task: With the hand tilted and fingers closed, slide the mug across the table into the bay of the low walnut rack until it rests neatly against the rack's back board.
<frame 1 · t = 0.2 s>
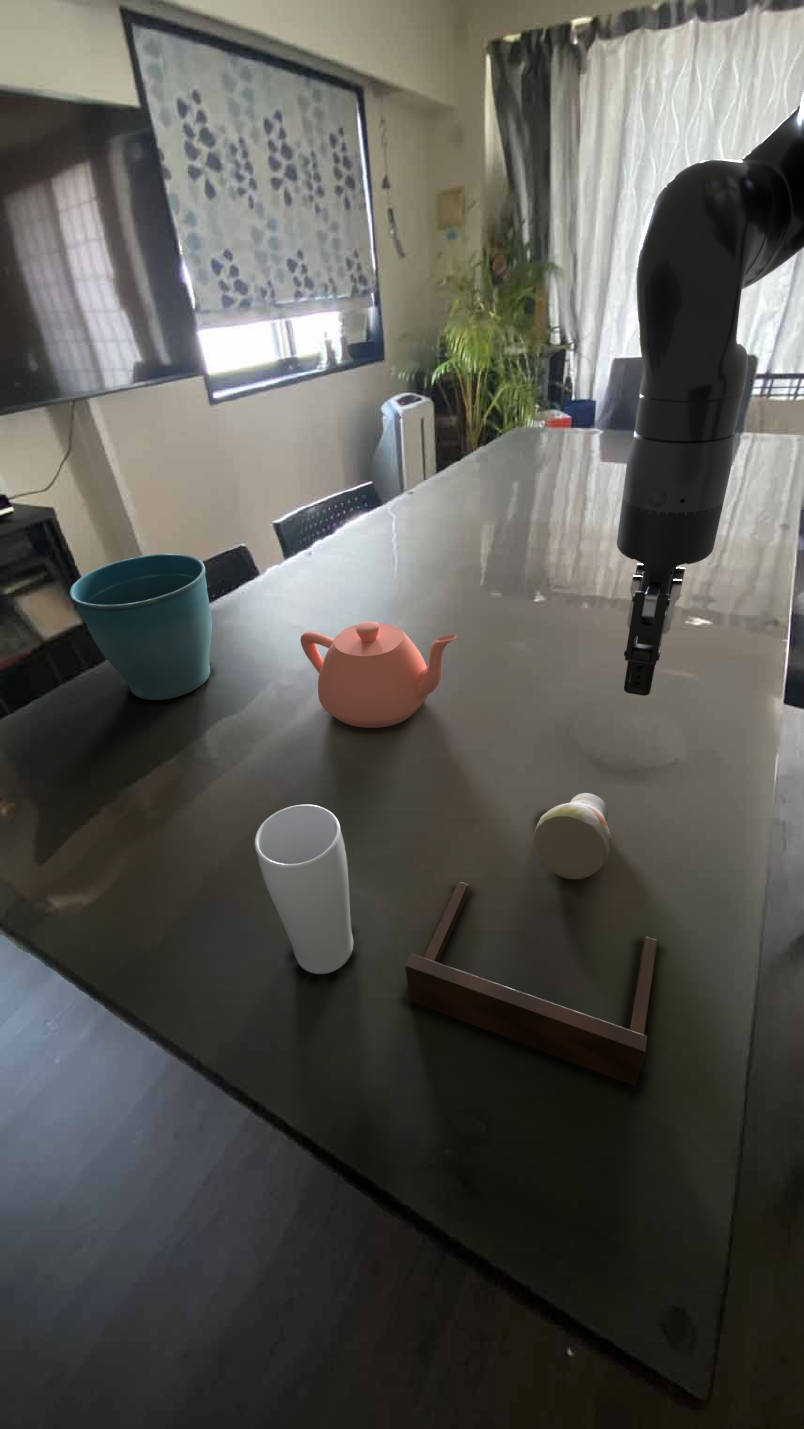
hand: (642, 668, 60), 17 cm above the table, tool pointing down, fingers open, 8 cm apart
drinking glass: (325, 951, 58), on the table
mug: (572, 847, 66), on the table
flower pot: (173, 681, 99), on the table
walnut rack: (536, 969, 55), on the table
teapot: (381, 706, 89), on the table
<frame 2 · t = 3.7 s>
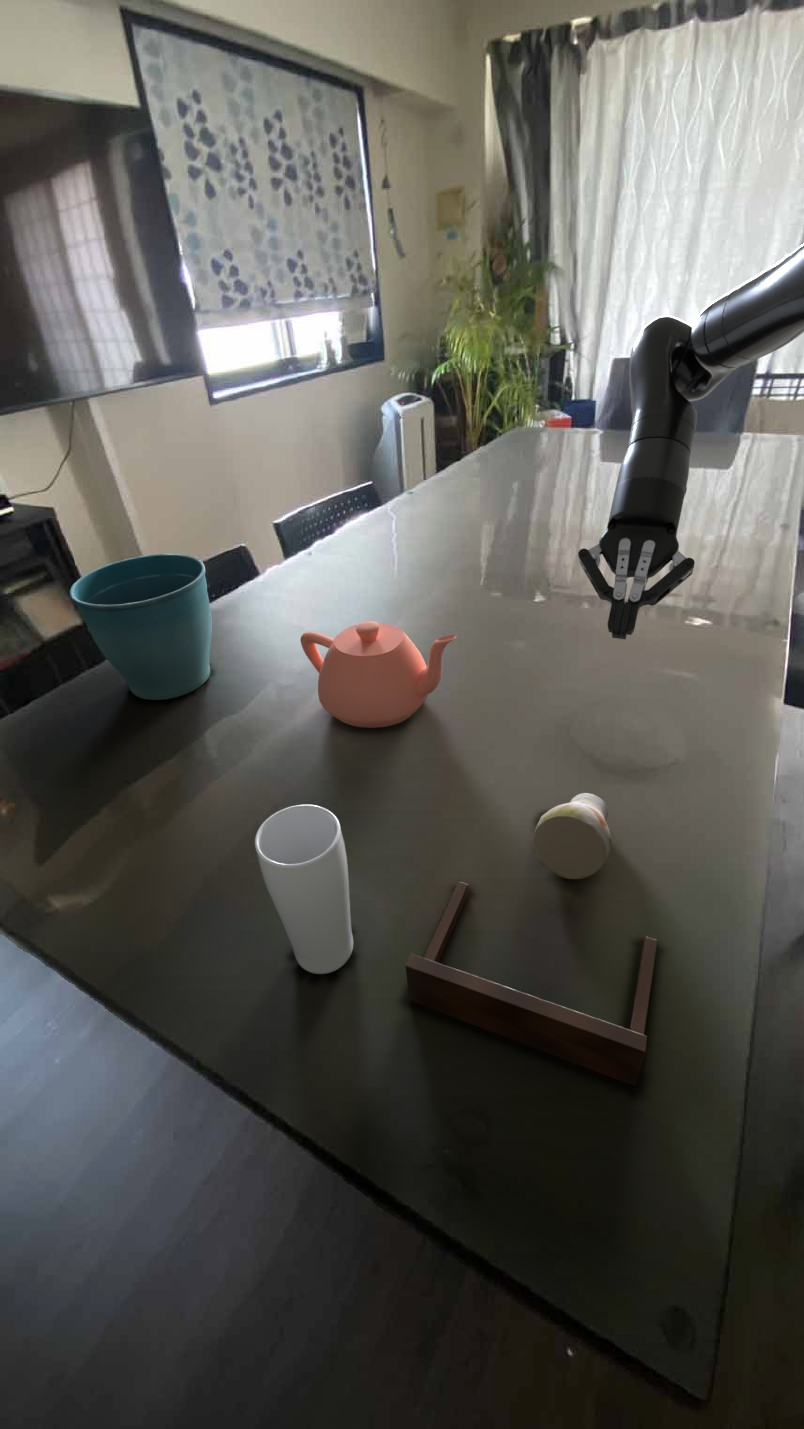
hand: (619, 636, 71), 14 cm above the table, tool tilted 45°, fingers closed
nothing on the table moved.
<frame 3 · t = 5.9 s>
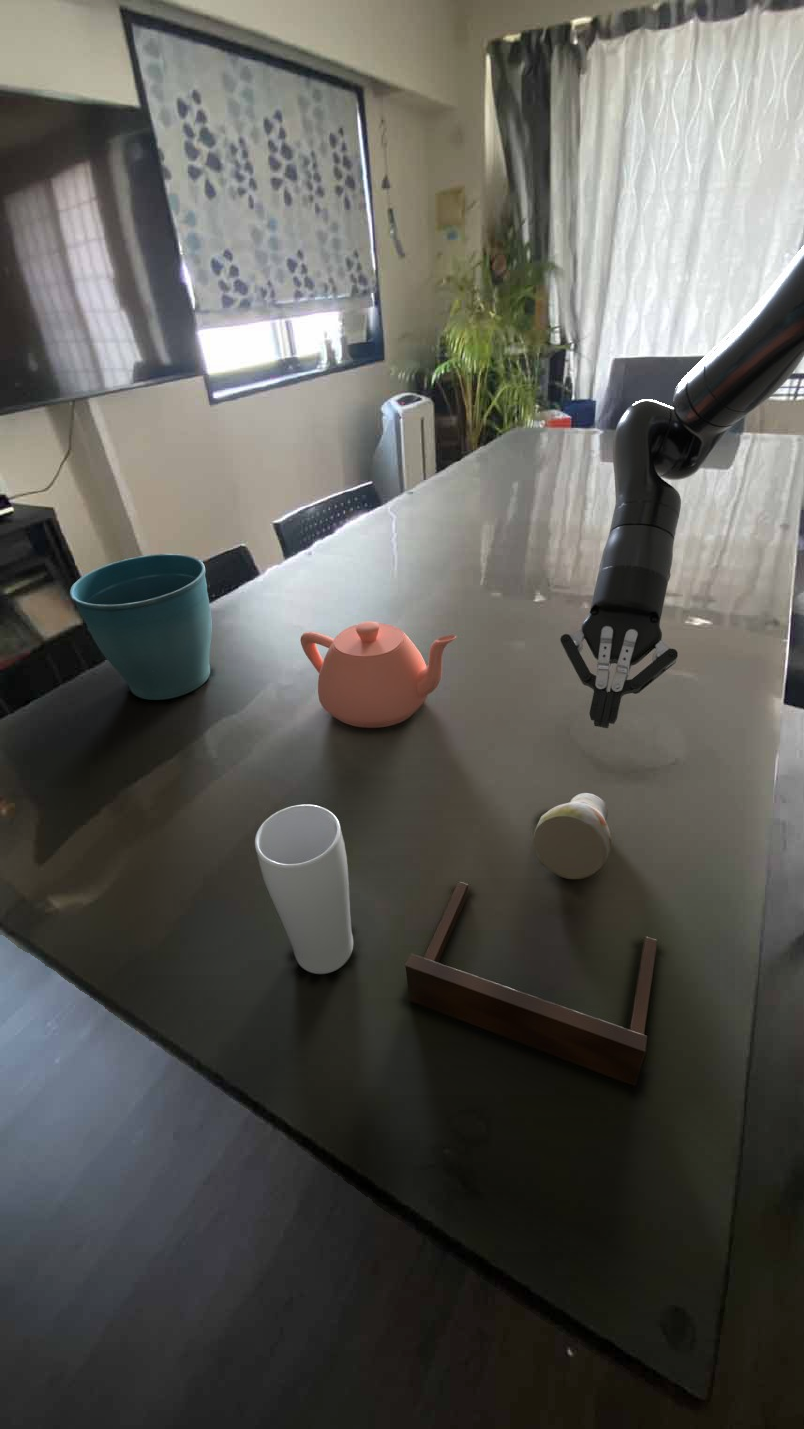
hand: (601, 726, 70), 7 cm above the table, tool tilted 45°, fingers closed
nothing on the table moved.
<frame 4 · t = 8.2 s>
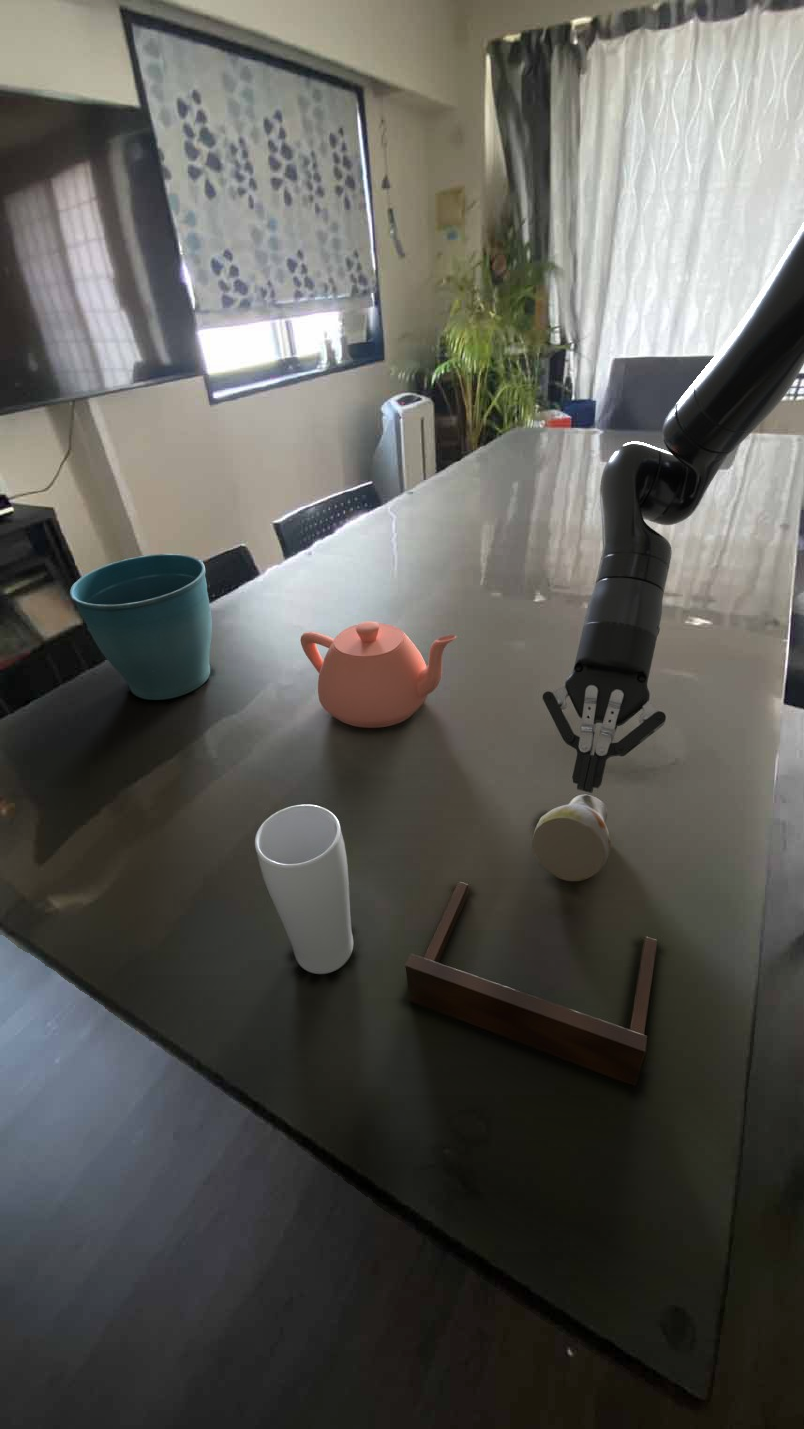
hand: (584, 790, 66), 4 cm above the table, tool tilted 45°, fingers closed
mug: (572, 849, 65), on the table, touching gripper
everything else where it was.
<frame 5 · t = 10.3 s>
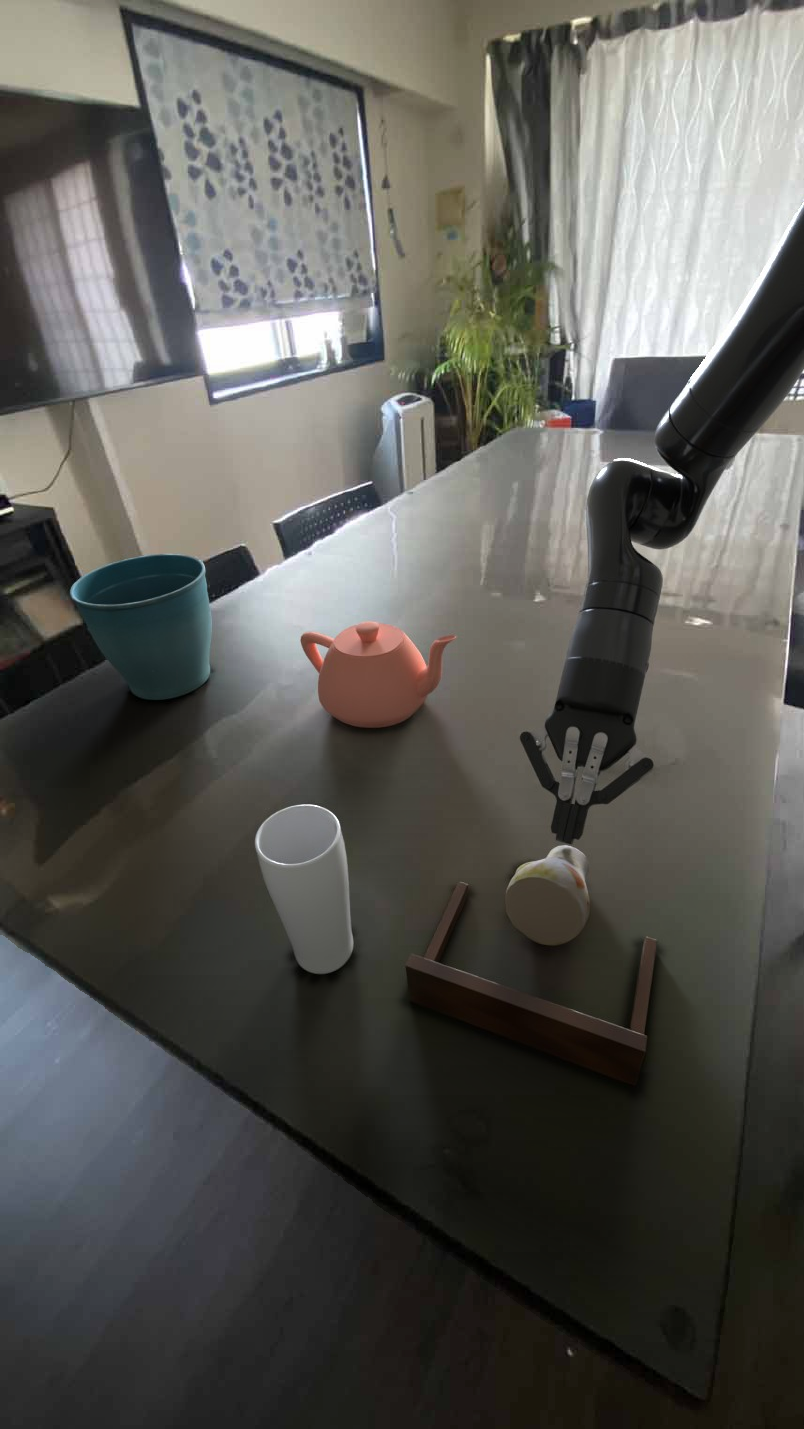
hand: (564, 842, 60), 5 cm above the table, tool tilted 45°, fingers closed
mug: (550, 905, 60), on the table, touching gripper
everything else where it was.
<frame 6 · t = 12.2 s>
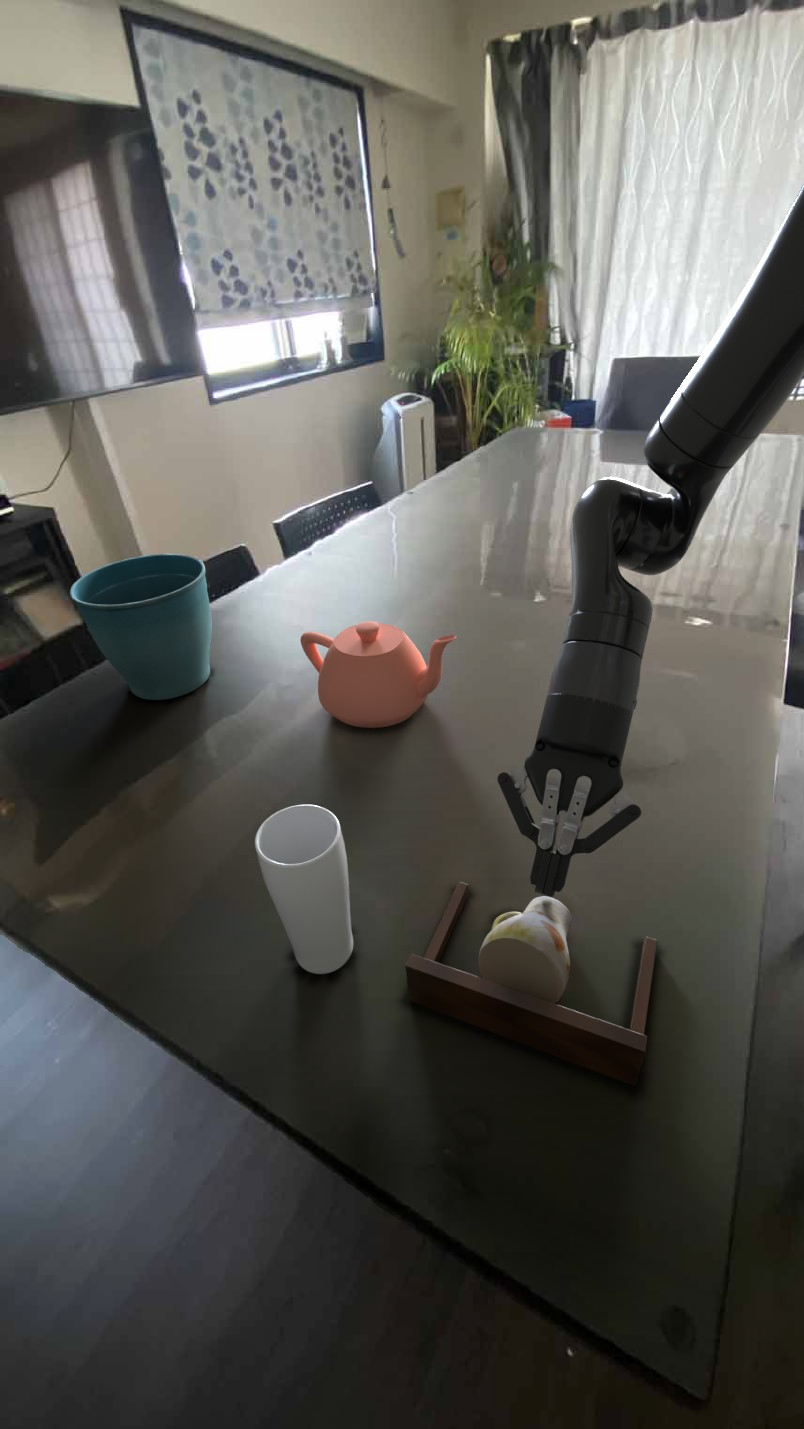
hand: (544, 893, 55), 5 cm above the table, tool tilted 45°, fingers closed
mug: (529, 962, 55), on the table, touching gripper
everything else where it was.
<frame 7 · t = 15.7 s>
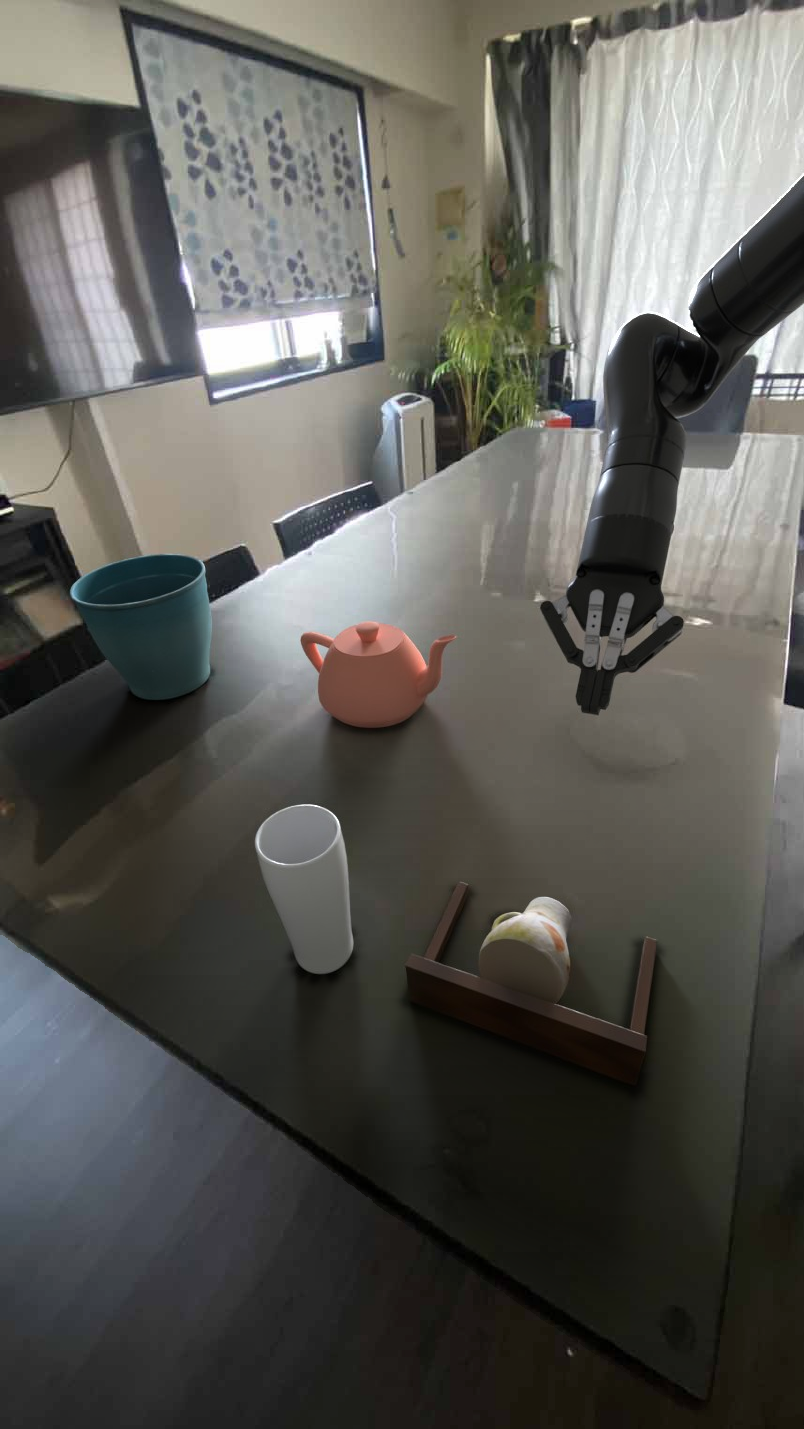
hand: (590, 712, 57), 16 cm above the table, tool tilted 45°, fingers closed
mug: (529, 963, 55), on the table
everything else where it was.
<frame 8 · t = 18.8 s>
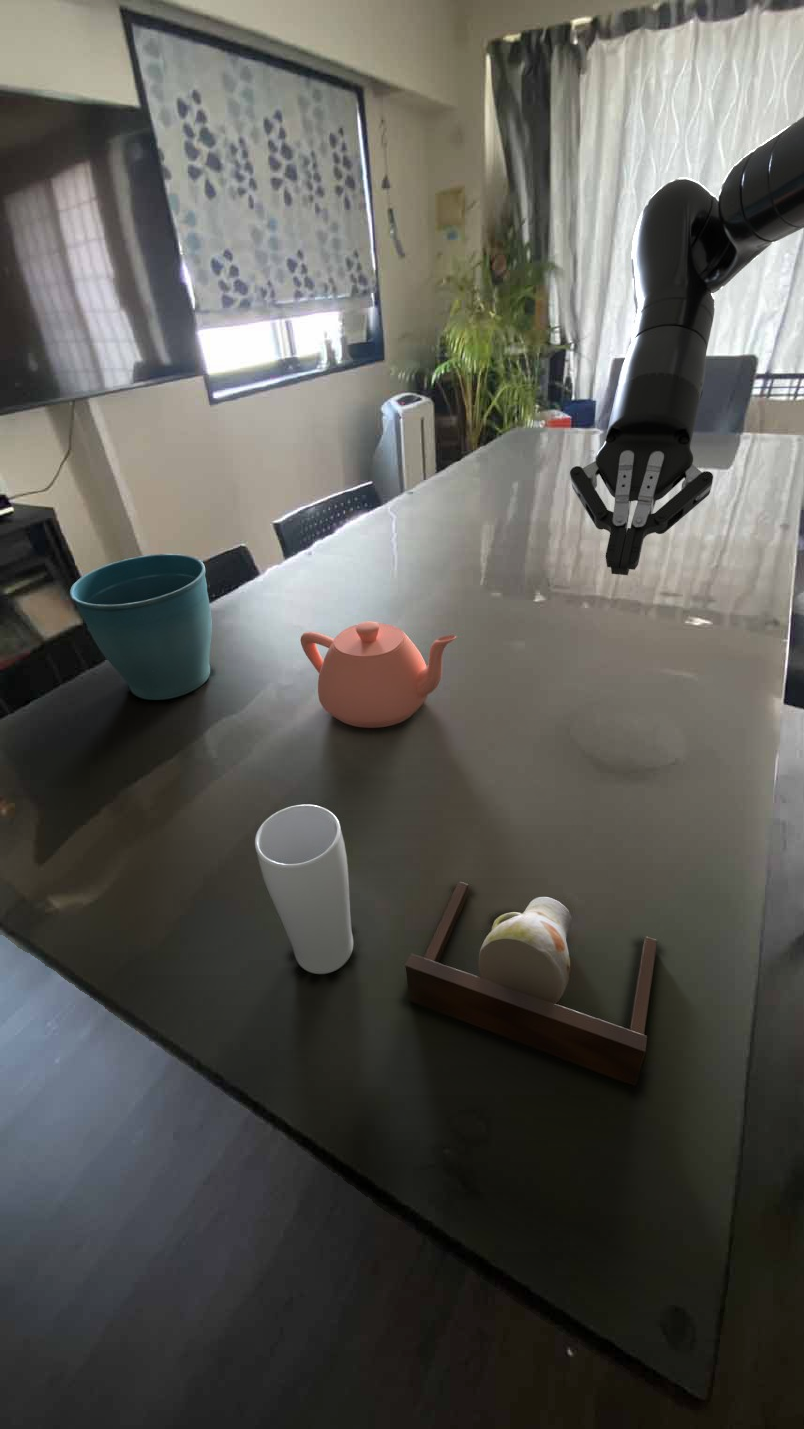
hand: (619, 571, 58), 26 cm above the table, tool tilted 45°, fingers closed
nothing on the table moved.
at the end: mug 0.9 cm off-centre on the walnut rack, point 0.0 cm above the walnut rack's base; mug tilted 0°; teapot moved 0.2 cm from its start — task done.
